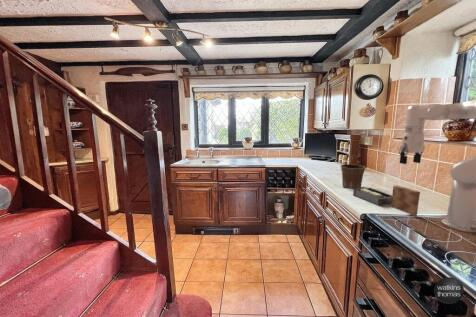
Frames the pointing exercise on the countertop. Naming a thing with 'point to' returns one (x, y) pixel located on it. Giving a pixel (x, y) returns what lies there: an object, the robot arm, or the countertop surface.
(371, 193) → the offcut
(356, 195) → the rack
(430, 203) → the countertop surface
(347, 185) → the plant pot
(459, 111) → the robot arm
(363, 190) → the offcut
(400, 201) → the walnut board
